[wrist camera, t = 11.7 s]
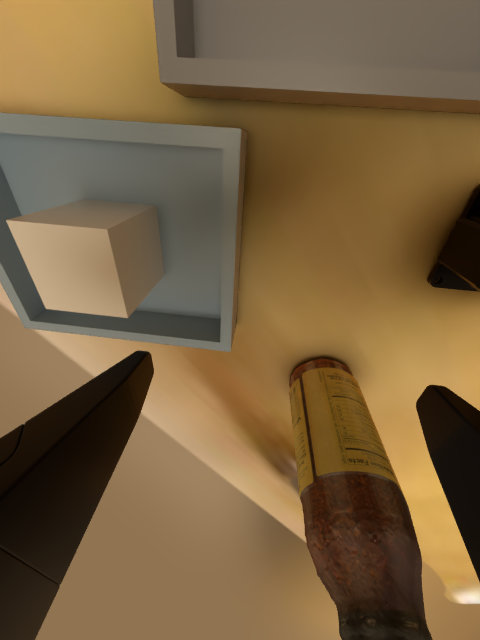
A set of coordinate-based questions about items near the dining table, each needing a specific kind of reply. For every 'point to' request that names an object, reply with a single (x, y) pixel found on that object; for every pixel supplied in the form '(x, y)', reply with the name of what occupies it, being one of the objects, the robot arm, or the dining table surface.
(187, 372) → the dining table surface
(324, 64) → the bin
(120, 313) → the stone block
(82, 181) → the bin
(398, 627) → the sauce bottle
